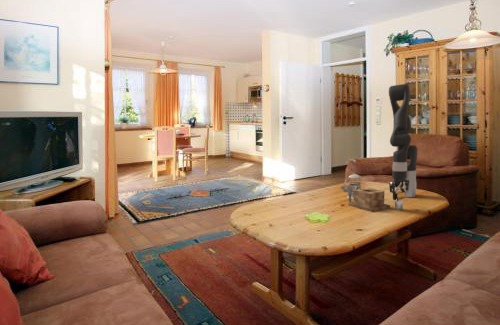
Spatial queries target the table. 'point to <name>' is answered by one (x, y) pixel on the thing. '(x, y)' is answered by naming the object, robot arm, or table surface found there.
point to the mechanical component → (349, 190)
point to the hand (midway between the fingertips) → (398, 198)
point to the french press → (353, 183)
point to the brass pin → (399, 200)
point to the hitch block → (369, 199)
